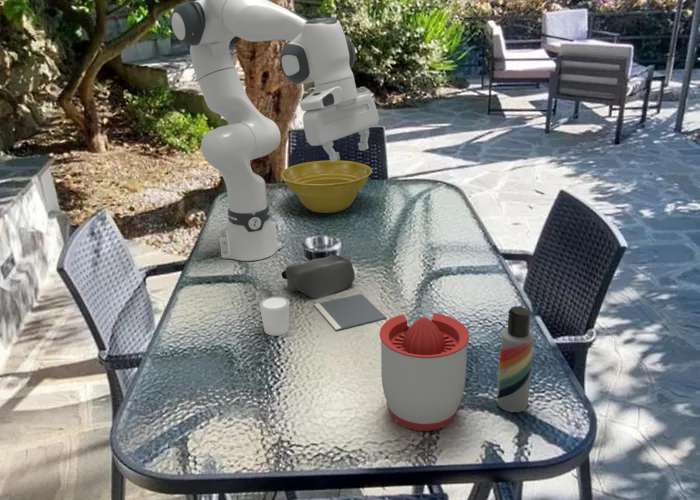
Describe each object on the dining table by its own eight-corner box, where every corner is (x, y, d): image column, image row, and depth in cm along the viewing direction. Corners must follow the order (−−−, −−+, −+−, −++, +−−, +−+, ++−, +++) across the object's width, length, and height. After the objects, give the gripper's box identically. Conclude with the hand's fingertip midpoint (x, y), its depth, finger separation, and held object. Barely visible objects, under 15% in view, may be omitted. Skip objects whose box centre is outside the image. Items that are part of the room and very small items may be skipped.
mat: (314, 305, 158) (313, 304, 158) (361, 295, 163) (361, 293, 163) (335, 331, 146) (335, 329, 146) (386, 318, 151) (386, 317, 151)
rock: (340, 271, 177) (339, 244, 174) (362, 285, 168) (361, 258, 165) (281, 287, 169) (278, 260, 166) (300, 304, 160) (298, 275, 157)
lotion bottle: (492, 396, 122) (499, 303, 114) (521, 393, 122) (530, 301, 115) (501, 414, 117) (509, 318, 109) (532, 412, 117) (541, 316, 109)
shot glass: (286, 338, 144) (284, 310, 141) (257, 335, 145) (255, 308, 143) (295, 323, 150) (293, 297, 148) (267, 321, 152) (265, 295, 149)
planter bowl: (271, 202, 236) (268, 166, 231) (349, 189, 248) (348, 155, 243) (302, 228, 209) (299, 189, 204) (388, 213, 221) (388, 175, 216)
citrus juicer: (454, 381, 127) (458, 291, 119) (473, 438, 111) (479, 338, 103) (376, 384, 127) (375, 294, 119) (383, 442, 110) (383, 342, 103)
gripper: (358, 86, 149) (370, 144, 153) (293, 105, 136) (308, 167, 140) (378, 83, 144) (390, 142, 149) (313, 102, 132) (327, 167, 136)
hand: (349, 155), depth 144 cm, fingers open, 8 cm apart
